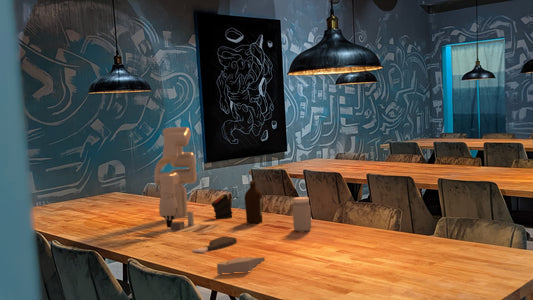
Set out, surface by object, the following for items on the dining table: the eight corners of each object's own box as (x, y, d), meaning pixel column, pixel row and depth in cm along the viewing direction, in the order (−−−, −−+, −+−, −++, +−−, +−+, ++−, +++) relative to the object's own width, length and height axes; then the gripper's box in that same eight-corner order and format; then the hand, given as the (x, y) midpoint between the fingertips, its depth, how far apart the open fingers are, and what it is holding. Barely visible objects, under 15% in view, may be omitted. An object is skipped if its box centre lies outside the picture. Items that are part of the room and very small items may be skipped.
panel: (161, 233, 312) (161, 231, 312) (178, 225, 330) (178, 223, 330) (205, 234, 302) (205, 232, 302) (220, 227, 321) (220, 225, 321)
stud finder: (170, 230, 313) (170, 222, 313) (175, 228, 318) (175, 220, 318) (180, 230, 311) (179, 222, 311) (184, 228, 316) (184, 220, 315)
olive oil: (245, 224, 325) (243, 182, 323) (245, 220, 336) (243, 180, 334) (263, 223, 326) (261, 181, 324) (263, 220, 336) (261, 179, 334)
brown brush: (238, 243, 280) (207, 255, 260) (222, 241, 287) (190, 253, 267) (238, 237, 280) (206, 249, 260) (222, 235, 286) (189, 247, 267)
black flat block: (236, 214, 351) (227, 194, 346) (221, 225, 344) (211, 206, 339) (233, 213, 354) (223, 193, 349) (218, 225, 347) (208, 205, 342)
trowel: (251, 258, 251) (250, 246, 250) (277, 263, 240) (277, 251, 240) (205, 273, 230) (204, 261, 229) (232, 280, 219) (231, 266, 219)
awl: (186, 225, 323) (186, 212, 323) (189, 224, 326) (188, 211, 326) (192, 226, 322) (191, 212, 321) (194, 224, 325) (194, 211, 325)
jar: (310, 232, 297) (308, 199, 296) (292, 232, 299) (291, 199, 298) (312, 228, 306) (311, 196, 305) (295, 228, 308) (293, 196, 307)
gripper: (153, 196, 314) (155, 228, 315) (176, 196, 309) (177, 228, 310) (160, 194, 321) (162, 225, 322) (182, 194, 316) (184, 226, 317)
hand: (169, 227), depth 316 cm, fingers closed
